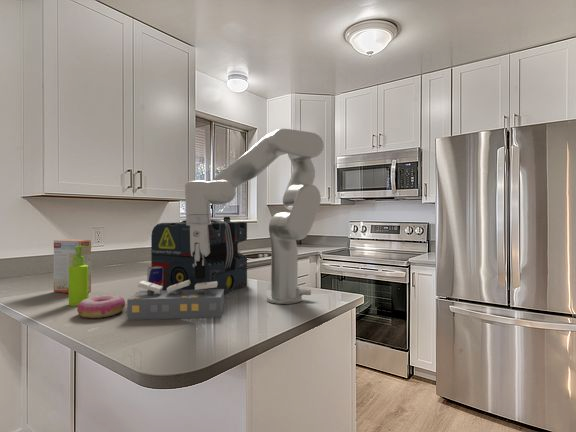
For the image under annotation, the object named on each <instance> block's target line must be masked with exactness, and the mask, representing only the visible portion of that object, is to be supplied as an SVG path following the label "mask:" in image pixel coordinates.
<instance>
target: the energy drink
mask: <svg viewBox="0 0 576 432" xmlns="http://www.w3.org/2000/svg"><path fill="white" fill-rule="evenodd" d="M146 272H147V273H146V275H147V276H146V279H147V282H150V283H154V284H157V285H160V286H163V267H160V266H155V267H151V266H148V267H147V271H146ZM162 290H163V289H162ZM146 291H148V289H146Z"/></svg>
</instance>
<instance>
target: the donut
mask: <svg viewBox="0 0 576 432" xmlns="http://www.w3.org/2000/svg"><path fill="white" fill-rule="evenodd" d="M125 306H126V301H125V299H124V298H123V297H122V296H121V295H115V294H110V295H109V294H106V295H104V294H103V295H97V296H90V297H88V299H85V300H83V301H81V302H80V303H79V304H78V306H76V311H77V313H78V315H79V316H81V317H82V318H85V319H102V318H103V317H104V318H109V317H111V316H115V315H116V316H117V314H120V313H121V312H122V311H123V310H124V309H125Z"/></svg>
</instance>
